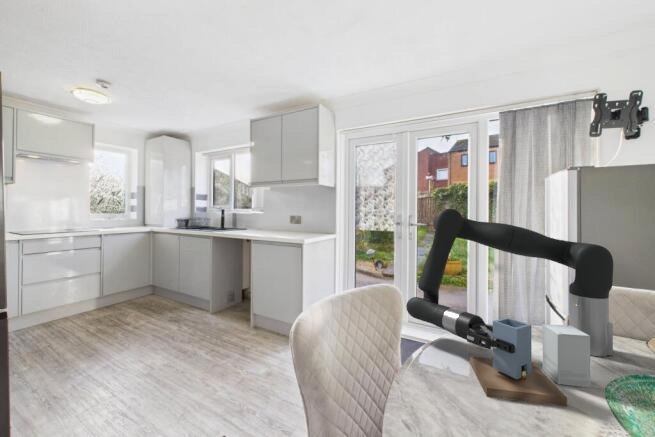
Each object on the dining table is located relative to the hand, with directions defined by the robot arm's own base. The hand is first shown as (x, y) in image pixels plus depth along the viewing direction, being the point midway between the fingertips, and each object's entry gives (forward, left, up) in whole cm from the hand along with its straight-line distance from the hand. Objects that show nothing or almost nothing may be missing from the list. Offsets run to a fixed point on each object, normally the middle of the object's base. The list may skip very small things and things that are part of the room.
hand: (521, 346), depth 71 cm
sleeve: (+2, -2, -7) cm, 7 cm away
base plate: (+2, -2, -10) cm, 10 cm away
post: (+2, -2, -8) cm, 8 cm away
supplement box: (-12, -7, -10) cm, 17 cm away
